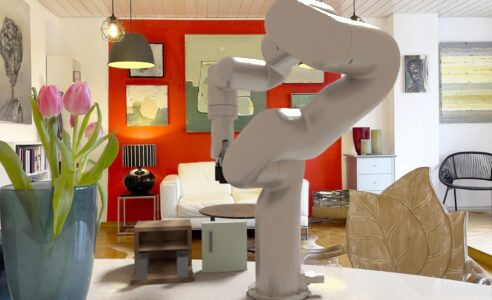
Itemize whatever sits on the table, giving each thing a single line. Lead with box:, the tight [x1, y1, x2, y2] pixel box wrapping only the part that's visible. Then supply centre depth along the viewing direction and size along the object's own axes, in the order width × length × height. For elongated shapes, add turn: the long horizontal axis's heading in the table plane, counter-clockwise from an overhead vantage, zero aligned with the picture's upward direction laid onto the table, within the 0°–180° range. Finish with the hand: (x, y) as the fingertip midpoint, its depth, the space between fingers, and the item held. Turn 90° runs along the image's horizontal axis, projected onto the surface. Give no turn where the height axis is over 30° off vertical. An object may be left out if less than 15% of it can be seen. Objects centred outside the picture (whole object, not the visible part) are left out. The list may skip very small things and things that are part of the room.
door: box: [201, 219, 248, 274], centre depth 103 cm, size 11×3×12 cm, turn 100°
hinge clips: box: [136, 251, 188, 280], centre depth 97 cm, size 11×6×4 cm, turn 100°
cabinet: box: [129, 218, 195, 286], centre depth 103 cm, size 14×20×11 cm
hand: (223, 182), depth 104 cm, fingers open, 9 cm apart
